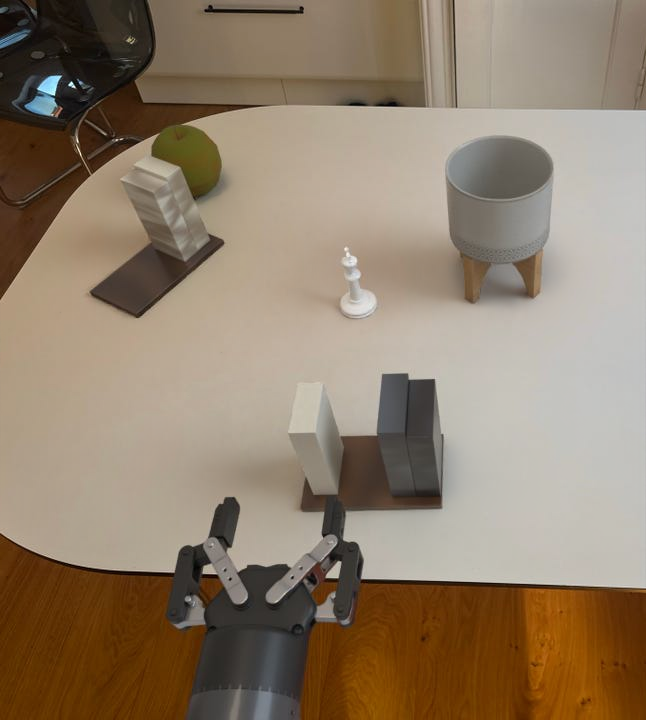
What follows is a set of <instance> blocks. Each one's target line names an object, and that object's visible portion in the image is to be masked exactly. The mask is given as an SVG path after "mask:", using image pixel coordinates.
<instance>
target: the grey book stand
mask: <svg viewBox="0 0 646 720" xmlns="http://www.w3.org/2000/svg"><path fill="white" fill-rule="evenodd" d="M436 383H437V382H436V379H435V378H420V379H417V378H416V379H414V378H413V379H410V377H409V373H408V372H404V373H401V372H400V373H397V372H396V373H382V374H381V383H380V392H379V404H378V405H379V406H378V413H377V423H376V424H377V425H376V435H340V437H341V440H342V443H343V446H344V449H343V457H342V465H341V473H340V480H339V488H338V494H335V495H336V496H337V498H338V501H342V504H343V507H344V510H345V512H346V511H383V510H385V511H386V510H387V511H389V510H391V511H392V510H427V509H428V510H429V509H432V510H433V509H443V492H444V491H443V490H444V449H445V448H444V445H445V443H444V442H445V437H444V433H442V427H441V418H440V410H439V402H438V393H437V385H436ZM303 484H304V485H303V489H302V496H301V501H300V506H299V507H300V510H301V512H303V513H304V512H325V505H326V498H327V495H314V494H313V492H312V490H311V487H310V485H309V483H308V480H307V478H306V475H305V476H304V483H303Z"/></svg>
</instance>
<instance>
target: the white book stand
mask: <svg viewBox="0 0 646 720" xmlns="http://www.w3.org/2000/svg"><path fill="white" fill-rule="evenodd" d="M133 168H134V169H132V170H131V171H129V172H127V174H125V175H124V176H122V177H120V179H119V181H120V183H121V184H122V186H123V189H124V191H125V193H126V194H127V197H128V199H129V201H130V203H131V205H132V207H133V209H134V211H135V212H136V214H137V217H138V218H139V221H140V223H141V225H142V227H143V229H144V231H145V232H146V234H147V236H148V238H149V240H150V242H149V243H148V244H147V245H146V246H145V247H143V248H142V249H141V250H140V251H138V252H137V253H136V254H134V255H133V256H132V257H130V259H128V260H127V261H125V262H124V263H123V264H122V265H120V266H119V267H118V268H116V270H114V271H113V272H111V274H109V275H108V276H107V277H105V279H103V280H101V281H100V282H99V283H98V284H96V285H95V286H94V287H93V288H91V289H90V290H89V294H90V295H91V296H92V297H94V298H96V299H98V300H99V301H103V302H105V303H106V304H108V305H110V306H113V307H115V308H116V309H119V310H121V311H123V312H124V313H127V314H129V315H131V316H133V317H135V318H138V319H139V318H140V317H142V316H143V315H144V314H145V313H146V312H147V311H148V310H150V309H151V308H152V307H153V306H155V304H157V303H158V302H159V301H160V300H161V299H162V298H163V297H164V296H166V295H167V294H168V293H169V292H171V291H172V290H173V289H174V288H176V286H178V285H179V284H180V283H182V281H184V280H185V279H186V278H187V277H188V276H189V275H191V273H193V271H195V270H196V269H197V268H198V267H200V266H201V265H202V264H203V263H204V262H205V261H206V260H207V259H209V258H210V257H211V256H212V255H214V254H215V253H216V252H217V251H218V250H219V249H220V248H222V247H223V246H224V245H225V240H224V239H222V238H220V237H218V236H215V235H213V234H211V233H209V232H208V231H207V228H206V226H205V224H204V221H203V219H202V217H201V214H200V211H199V208H198V207H197V204H196V202H195V200H194V199H195V198H194V197H192V194H191V192H190V190H189V187H188V185H187V182H186V180H185V178H184V175H183V173H182V170H181V168H180V167H179V166H176V165H173V164H171V163H168V162H165V161H163V160H160V159H157V158H155V157H152V156H151V155H149V154H146V155H144V157H142V158H141V159H139V160H138V161H137V162H135V163H134V164H133Z"/></svg>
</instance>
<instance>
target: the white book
mask: <svg viewBox="0 0 646 720" xmlns="http://www.w3.org/2000/svg"><path fill="white" fill-rule="evenodd" d="M287 435H288V438H289V440H290V442H291V444H292V446H293V449H294V451H295V454H296V456H297V458H298V461H299V463H300V465H301V468H302V470H303V472H304V475H305V476H306V478H307V480H308V483H309V485H310V487H311V490H312V492H313V494H314V495H335V494H338V488H339V480H340V473H341V465H342V457H343V449H344V446H343V443H342V440H341V437H340V436H341V434H340V430H339V428H338V425H337V422H336V418H335V414H334V412H333V409H332V406H331V403H330V399H329V396H328V393H327V390H326V387H325V383H324V382H323V381H315V382H313V381H312V382H297V383H296V388H295V392H294V398H293V403H292V409H291V413H290V419H289V425H288V431H287Z"/></svg>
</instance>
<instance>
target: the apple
mask: <svg viewBox="0 0 646 720" xmlns="http://www.w3.org/2000/svg"><path fill="white" fill-rule="evenodd" d="M150 149H151V150H150V153H151V154H150V156H152V157H155V158H157V159H160V160H163V161H165V162H168V163H171V164H173V165H176V166H179V167H180V168H181V170H182V173H183V175H184V178H185V180H186V182H187V185H188V187H189V190H190V192H191V194H192V197H193V198H194V197H199V196H203V195H205V194H206V193H208V192H210V191H212V190H213V189H214V188H215V187H217V185H218V183H219V181H220V176H221V173H222V166H223V164H222V163H223V162H222V158H221V155H220V150H219V148H218V144H216V143H215V142H214V141H213V139H212V138H211V137H210V136H209V135H208V134H207V133H206V132H205V131H204V130H202V129H200V128H197V127H195V126H193V125H189V124H173V125H169V126H166V127H164V128H163V129H162V130H161V131H160V132H159V133H158V135H157V136H156V137H155V138H154V141H153V142H152V144H151V147H150Z"/></svg>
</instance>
